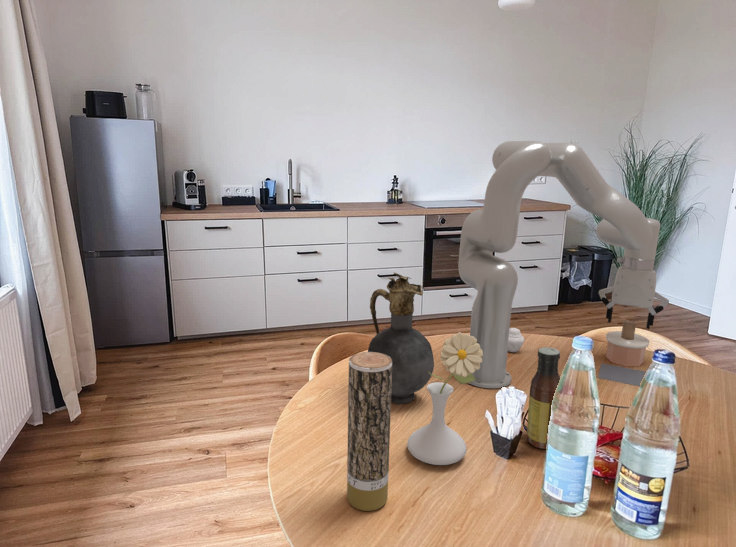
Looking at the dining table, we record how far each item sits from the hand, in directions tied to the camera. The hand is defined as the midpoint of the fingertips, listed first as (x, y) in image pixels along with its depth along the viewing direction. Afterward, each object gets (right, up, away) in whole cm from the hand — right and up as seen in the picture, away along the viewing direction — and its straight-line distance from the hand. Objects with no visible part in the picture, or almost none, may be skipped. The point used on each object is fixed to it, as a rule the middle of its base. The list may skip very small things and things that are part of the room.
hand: (628, 324), depth 146 cm
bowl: (0, -11, +3) cm, 11 cm away
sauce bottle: (-37, -20, -39) cm, 58 cm away
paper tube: (-72, -24, -58) cm, 96 cm away
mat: (-5, -13, -7) cm, 16 cm away
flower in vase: (-58, -21, -44) cm, 76 cm away
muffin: (-30, -9, +9) cm, 32 cm away
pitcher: (-66, -15, -20) cm, 70 cm away
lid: (0, -5, +1) cm, 5 cm away
